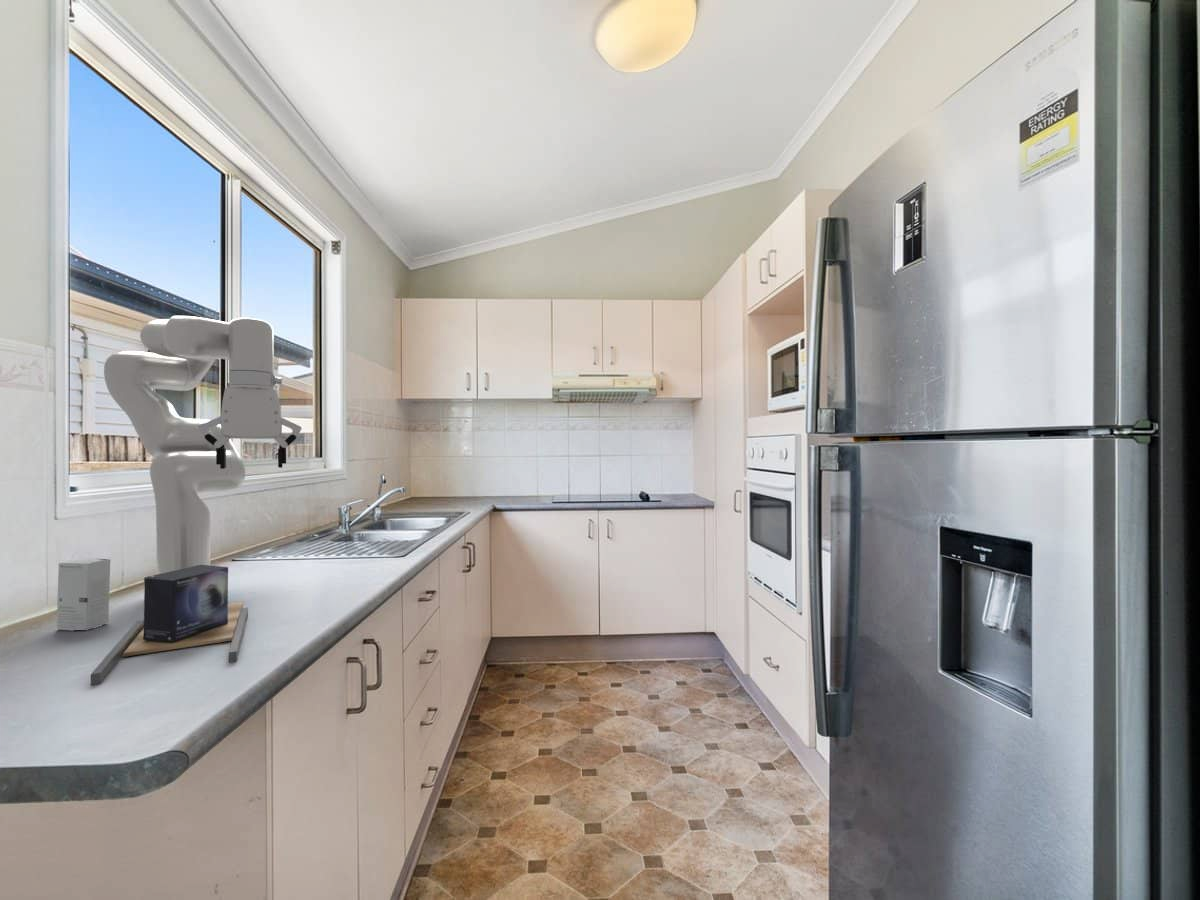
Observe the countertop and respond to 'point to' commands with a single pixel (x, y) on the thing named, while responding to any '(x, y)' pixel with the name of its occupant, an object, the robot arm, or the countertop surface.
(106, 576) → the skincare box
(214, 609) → the small box
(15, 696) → the countertop surface
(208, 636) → the thin plywood board
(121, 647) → the guide rails
